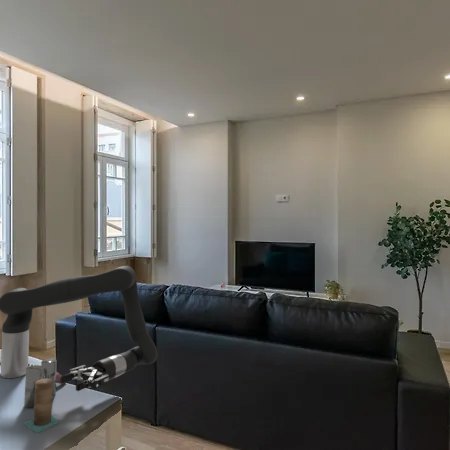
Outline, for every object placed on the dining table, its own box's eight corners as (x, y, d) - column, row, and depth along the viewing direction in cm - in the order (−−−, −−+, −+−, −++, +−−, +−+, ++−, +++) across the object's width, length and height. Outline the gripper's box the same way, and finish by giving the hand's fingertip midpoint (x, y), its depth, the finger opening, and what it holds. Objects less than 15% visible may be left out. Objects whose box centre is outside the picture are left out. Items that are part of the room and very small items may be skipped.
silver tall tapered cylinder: (20, 405, 120) (22, 368, 120) (34, 399, 124) (36, 364, 125) (30, 409, 118) (32, 371, 118) (43, 403, 122) (45, 367, 122)
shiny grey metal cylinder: (37, 395, 127) (38, 361, 127) (50, 390, 131) (51, 357, 131) (45, 400, 124) (46, 365, 124) (58, 394, 128) (59, 361, 128)
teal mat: (24, 424, 110) (24, 422, 110) (46, 414, 115) (46, 412, 115) (37, 433, 106) (37, 431, 106) (59, 422, 112) (59, 420, 112)
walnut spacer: (30, 422, 110) (31, 382, 110) (45, 415, 114) (47, 377, 114) (39, 427, 107) (41, 386, 107) (54, 420, 111) (56, 381, 111)
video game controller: (41, 384, 139) (34, 371, 136) (50, 375, 142) (44, 362, 139) (59, 391, 134) (52, 377, 131) (68, 381, 138) (62, 367, 135)
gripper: (97, 352, 135) (56, 366, 121) (123, 362, 127) (82, 378, 113) (97, 373, 135) (55, 389, 121) (123, 384, 127) (81, 402, 113)
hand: (68, 383), depth 117 cm, fingers open, 8 cm apart
